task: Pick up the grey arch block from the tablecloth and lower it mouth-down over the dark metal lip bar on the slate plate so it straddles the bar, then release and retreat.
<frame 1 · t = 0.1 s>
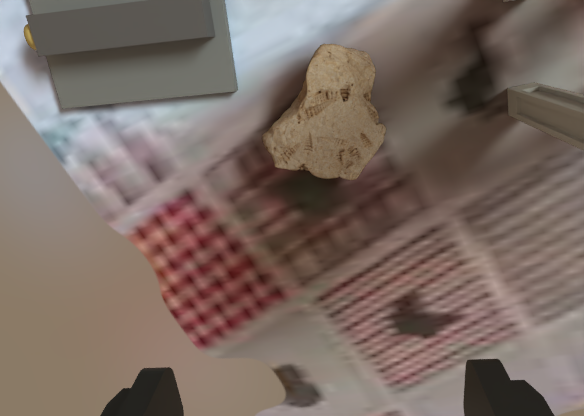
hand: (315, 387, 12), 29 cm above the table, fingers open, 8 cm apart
stool: (578, 29, 34), on the table
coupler: (134, 26, 36), on the table
stone: (320, 115, 38), on the table
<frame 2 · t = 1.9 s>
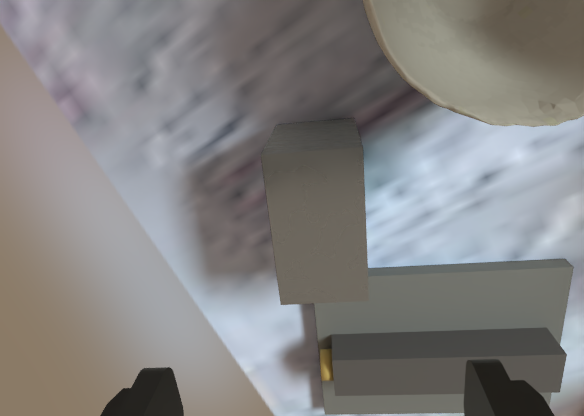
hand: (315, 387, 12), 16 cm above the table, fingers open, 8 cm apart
grey arch block: (320, 186, 26), on the table
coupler: (432, 338, 30), on the table
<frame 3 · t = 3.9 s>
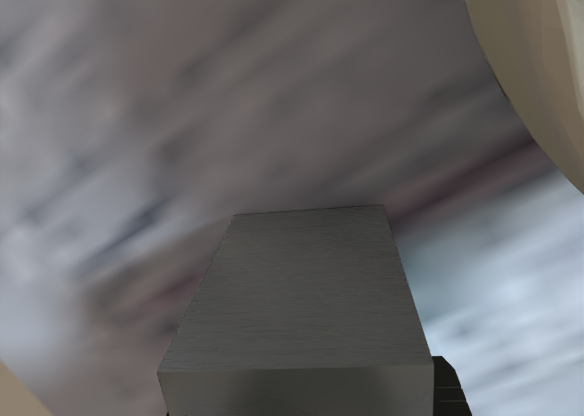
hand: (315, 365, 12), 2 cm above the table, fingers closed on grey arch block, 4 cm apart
grey arch block: (318, 318, 14), on the table, touching gripper
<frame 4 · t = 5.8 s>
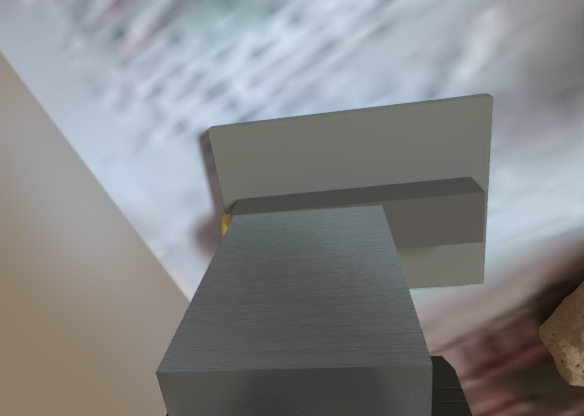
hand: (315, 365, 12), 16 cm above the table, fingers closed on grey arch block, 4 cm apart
grey arch block: (317, 318, 14), point 14 cm above the table, touching gripper
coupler: (351, 204, 27), on the table
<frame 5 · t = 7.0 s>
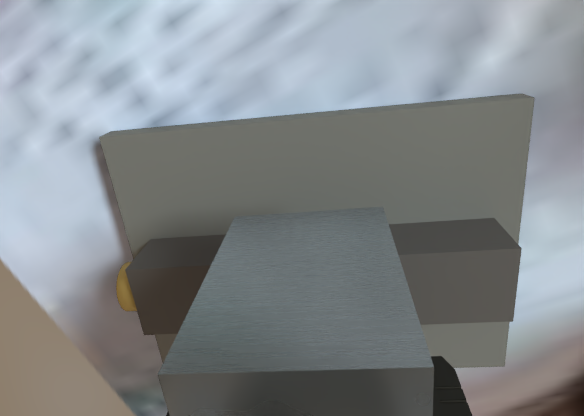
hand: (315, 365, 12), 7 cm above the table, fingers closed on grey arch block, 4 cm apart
grey arch block: (318, 320, 14), point 5 cm above the table, touching gripper
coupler: (318, 249, 19), on the table
when the fingers open (4 cm above the table, at t = 7.9 s): grey arch block drops 1 cm, resting on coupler.
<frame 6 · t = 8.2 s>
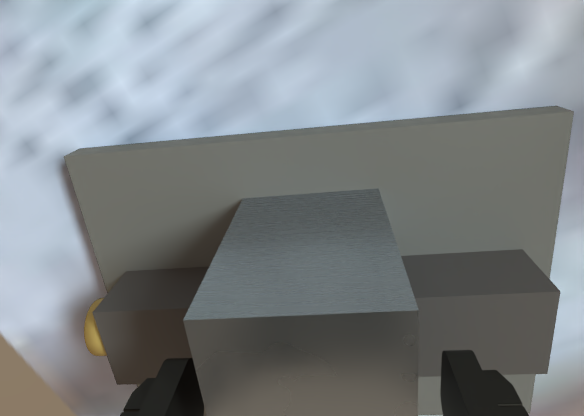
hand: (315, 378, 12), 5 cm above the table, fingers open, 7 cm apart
grey arch block: (319, 295, 16), point 1 cm above the table, touching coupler
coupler: (318, 281, 16), on the table
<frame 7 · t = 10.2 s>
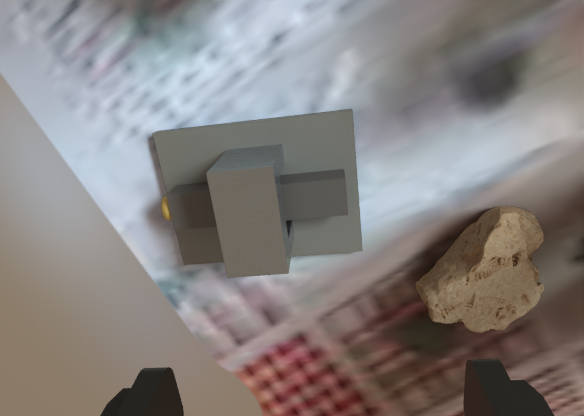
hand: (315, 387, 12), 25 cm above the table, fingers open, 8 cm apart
grey arch block: (261, 193, 35), point 1 cm above the table, touching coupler
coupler: (262, 190, 36), on the table
stone: (468, 259, 38), on the table
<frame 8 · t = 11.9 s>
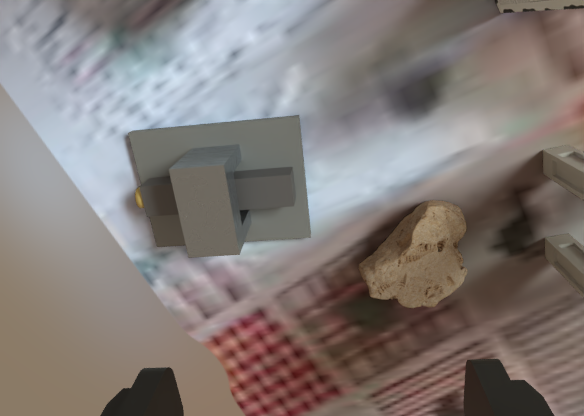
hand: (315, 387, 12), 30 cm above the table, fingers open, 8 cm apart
grey arch block: (222, 186, 41), point 1 cm above the table, touching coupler
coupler: (224, 183, 42), on the table
stone: (407, 246, 44), on the table
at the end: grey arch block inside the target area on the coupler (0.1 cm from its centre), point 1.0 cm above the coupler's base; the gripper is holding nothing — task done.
